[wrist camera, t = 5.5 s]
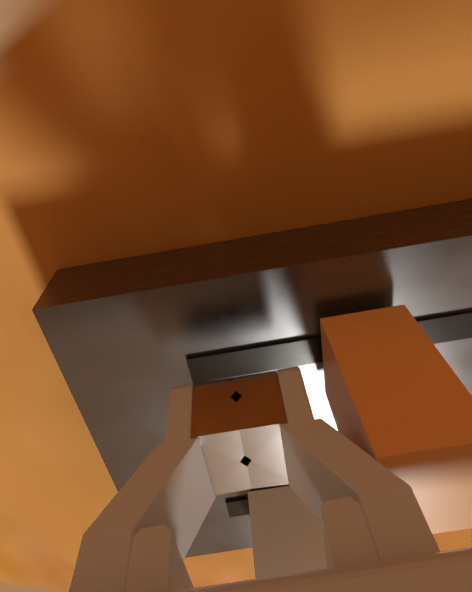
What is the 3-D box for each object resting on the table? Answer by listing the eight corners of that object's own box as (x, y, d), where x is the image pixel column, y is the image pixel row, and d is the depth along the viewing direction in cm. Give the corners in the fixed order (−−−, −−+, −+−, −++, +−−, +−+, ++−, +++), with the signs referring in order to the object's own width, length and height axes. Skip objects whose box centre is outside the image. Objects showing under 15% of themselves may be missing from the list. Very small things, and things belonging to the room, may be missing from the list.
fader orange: (404, 304, 10) (503, 437, 7) (400, 380, 12) (482, 526, 8) (320, 318, 10) (376, 458, 7) (325, 392, 12) (375, 542, 8)
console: (744, 152, 12) (875, 180, 9) (621, 438, 17) (684, 499, 15) (56, 270, 12) (23, 324, 10) (156, 511, 18) (149, 580, 15)
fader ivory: (312, 482, 14) (348, 634, 10) (316, 527, 15) (351, 677, 11) (247, 491, 14) (262, 647, 10) (257, 536, 15) (274, 688, 11)
